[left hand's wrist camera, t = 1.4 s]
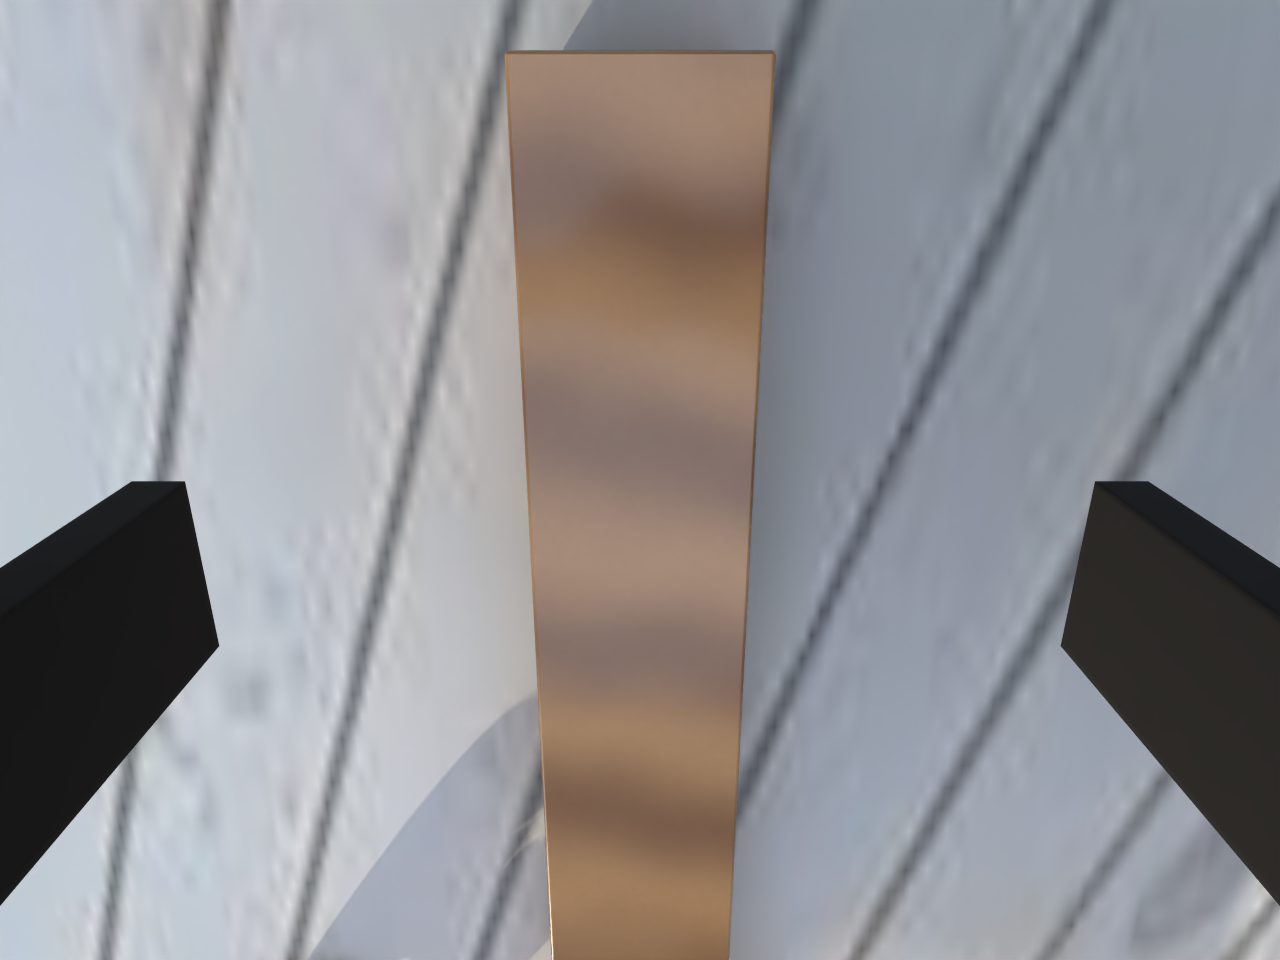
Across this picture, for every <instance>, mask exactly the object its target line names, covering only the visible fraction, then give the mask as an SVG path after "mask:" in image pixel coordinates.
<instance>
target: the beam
mask: <svg viewBox="0 0 1280 960" xmlns="http://www.w3.org/2000/svg"><path fill="white" fill-rule="evenodd" d="M775 59H776V54H775V52H774V51H772V50H509V51H507V52H506V53H505V71H506V90H507V109H508V128H509V148H510V167H511V186H512V205H513V224H514V244H515V263H516V282H517V301H518V321H519V340H520V359H521V378H522V397H523V417H524V436H525V455H526V474H527V494H528V513H529V532H530V551H531V570H532V590H533V609H534V628H535V647H536V667H537V686H538V705H539V724H540V744H541V763H542V782H543V801H544V820H545V840H546V859H547V878H548V897H549V917H550V936H551V955H552V960H729V948H730V929H731V909H732V890H733V871H734V851H735V832H736V813H737V793H738V774H739V755H740V735H741V716H742V697H743V677H744V658H745V639H746V620H747V600H748V581H749V562H750V542H751V523H752V504H753V484H754V465H755V446H756V426H757V407H758V388H759V368H760V349H761V330H762V310H763V291H764V272H765V252H766V233H767V214H768V194H769V175H770V156H771V136H772V117H773V98H774V79H775Z"/></svg>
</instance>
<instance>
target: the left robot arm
mask: <svg viewBox="0 0 1280 960" xmlns="http://www.w3.org/2000/svg"><path fill="white" fill-rule="evenodd" d="M218 647H219V643H218V638H217V633H216V628H215V623H214V619H213V614H212V609H211V604H210V599H209V595H208V590H207V585H206V580H205V575H204V571H203V566H202V561H201V556H200V551H199V547H198V542H197V537H196V532H195V527H194V523H193V518H192V513H191V508H190V503H189V499H188V494H187V489H186V484H185V481H132V482H130V483H129V484H127V485H126V486H124V487H123V488H121V489H120V490H118V491H117V492H115V493H113V494H112V495H110V496H109V497H107V498H106V499H104V500H103V501H101V502H100V503H98V504H97V505H95V506H94V507H92V508H91V509H89V510H88V511H86V512H85V513H83V514H82V515H80V516H79V517H77V518H75V519H74V520H72V521H71V522H69V523H68V524H66V525H65V526H63V527H62V528H60V529H59V530H57V531H56V532H54V533H53V534H51V535H50V536H48V537H47V538H45V539H44V540H42V541H41V542H39V543H37V544H36V545H34V546H33V547H31V548H30V549H28V550H27V551H25V552H24V553H22V554H21V555H19V556H18V557H16V558H15V559H13V560H12V561H10V562H9V563H7V564H6V565H4V566H3V567H1V568H0V905H1V904H2V903H3V902H4V901H5V899H6V898H7V897H8V896H9V895H10V894H11V892H12V891H13V890H14V889H15V888H16V886H17V885H18V884H19V883H20V882H21V880H22V879H23V878H24V877H25V876H26V875H27V873H28V872H29V871H30V870H31V869H32V867H33V866H34V865H35V864H36V863H37V862H38V860H39V859H40V858H41V857H42V856H43V854H44V853H45V852H46V851H47V850H48V848H49V847H50V846H51V845H52V844H53V843H54V841H55V840H56V839H57V838H58V837H59V835H60V834H61V833H62V832H63V831H64V829H65V828H66V827H67V826H68V825H69V824H70V822H71V821H72V820H73V819H74V818H75V816H76V815H77V814H78V813H79V812H80V811H81V809H82V808H83V807H84V806H85V805H86V803H87V802H88V801H89V800H90V799H91V797H92V796H93V795H94V794H95V793H96V792H97V790H98V789H99V788H100V787H101V786H102V784H103V783H104V782H105V781H106V780H107V778H108V777H109V776H110V775H111V774H112V773H113V771H114V770H115V769H116V768H117V767H118V765H119V764H120V763H121V762H122V761H123V760H124V758H125V757H126V756H127V755H128V754H129V752H130V751H131V750H132V749H133V748H134V746H135V745H136V744H137V743H138V742H139V741H140V739H141V738H142V737H143V736H144V735H145V733H146V732H147V731H148V730H149V729H150V727H151V726H152V725H153V724H154V723H155V722H156V720H157V719H158V718H159V717H160V716H161V714H162V713H163V712H164V711H165V710H166V709H167V707H168V706H169V705H170V704H171V703H172V701H173V700H174V699H175V698H176V697H177V695H178V694H179V693H180V692H181V691H182V690H183V688H184V687H185V686H186V685H187V684H188V682H189V681H190V680H191V679H192V678H193V676H194V675H195V674H196V673H197V672H198V671H199V669H200V668H201V667H202V666H203V665H204V663H205V662H206V661H207V660H208V659H209V658H210V656H211V655H212V654H213V653H214V652H215V650H216V649H217V648H218ZM1061 647H1062V648H1063V649H1064V650H1065V652H1066V653H1067V654H1068V655H1069V656H1070V658H1071V659H1072V660H1073V661H1074V662H1075V663H1076V665H1077V666H1078V667H1079V668H1080V669H1081V671H1082V672H1083V673H1084V674H1085V675H1086V676H1087V678H1088V679H1089V680H1090V681H1091V682H1092V684H1093V685H1094V686H1095V687H1096V688H1097V690H1098V691H1099V692H1100V693H1101V694H1102V695H1103V697H1104V698H1105V699H1106V700H1107V701H1108V703H1109V704H1110V705H1111V706H1112V707H1113V709H1114V710H1115V711H1116V712H1117V713H1118V714H1119V716H1120V717H1121V718H1122V719H1123V720H1124V722H1125V723H1126V724H1127V725H1128V726H1129V727H1130V729H1131V730H1132V731H1133V732H1134V733H1135V735H1136V736H1137V737H1138V738H1139V739H1140V741H1141V742H1142V743H1143V744H1144V745H1145V746H1146V748H1147V749H1148V750H1149V751H1150V752H1151V754H1152V755H1153V756H1154V757H1155V758H1156V760H1157V761H1158V762H1159V763H1160V764H1161V765H1162V767H1163V768H1164V769H1165V770H1166V771H1167V773H1168V774H1169V775H1170V776H1171V777H1172V778H1173V780H1174V781H1175V782H1176V783H1177V784H1178V786H1179V787H1180V788H1181V789H1182V790H1183V792H1184V793H1185V794H1186V795H1187V796H1188V797H1189V799H1190V800H1191V801H1192V802H1193V803H1194V805H1195V806H1196V807H1197V808H1198V809H1199V811H1200V812H1201V813H1202V814H1203V815H1204V816H1205V818H1206V819H1207V820H1208V821H1209V822H1210V824H1211V825H1212V826H1213V827H1214V828H1215V829H1216V831H1217V832H1218V833H1219V834H1220V835H1221V837H1222V838H1223V839H1224V840H1225V841H1226V843H1227V844H1228V845H1229V846H1230V847H1231V848H1232V850H1233V851H1234V852H1235V853H1236V854H1237V856H1238V857H1239V858H1240V859H1241V860H1242V862H1243V863H1244V864H1245V865H1246V866H1247V867H1248V869H1249V870H1250V871H1251V872H1252V873H1253V875H1254V876H1255V877H1256V878H1257V879H1258V880H1259V882H1260V883H1261V884H1262V885H1263V886H1264V888H1265V889H1266V890H1267V891H1268V892H1269V894H1270V895H1271V896H1272V897H1273V898H1274V899H1275V901H1276V902H1277V903H1278V904H1279V905H1280V568H1279V567H1277V566H1276V565H1274V564H1273V563H1271V562H1270V561H1268V560H1267V559H1265V558H1264V557H1262V556H1261V555H1259V554H1258V553H1256V552H1255V551H1253V550H1252V549H1250V548H1249V547H1247V546H1246V545H1244V544H1243V543H1241V542H1239V541H1238V540H1236V539H1235V538H1233V537H1232V536H1230V535H1229V534H1227V533H1226V532H1224V531H1223V530H1221V529H1220V528H1218V527H1217V526H1215V525H1214V524H1212V523H1211V522H1209V521H1208V520H1206V519H1205V518H1203V517H1201V516H1200V515H1198V514H1197V513H1195V512H1194V511H1192V510H1191V509H1189V508H1188V507H1186V506H1185V505H1183V504H1182V503H1180V502H1179V501H1177V500H1176V499H1174V498H1173V497H1171V496H1170V495H1168V494H1167V493H1165V492H1163V491H1162V490H1160V489H1159V488H1157V487H1156V486H1154V485H1153V484H1151V483H1150V482H1148V481H1095V484H1094V489H1093V494H1092V499H1091V503H1090V508H1089V513H1088V518H1087V523H1086V527H1085V532H1084V537H1083V542H1082V547H1081V551H1080V556H1079V561H1078V566H1077V571H1076V575H1075V580H1074V585H1073V590H1072V595H1071V599H1070V604H1069V609H1068V614H1067V619H1066V623H1065V628H1064V633H1063V638H1062V643H1061Z"/></svg>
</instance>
